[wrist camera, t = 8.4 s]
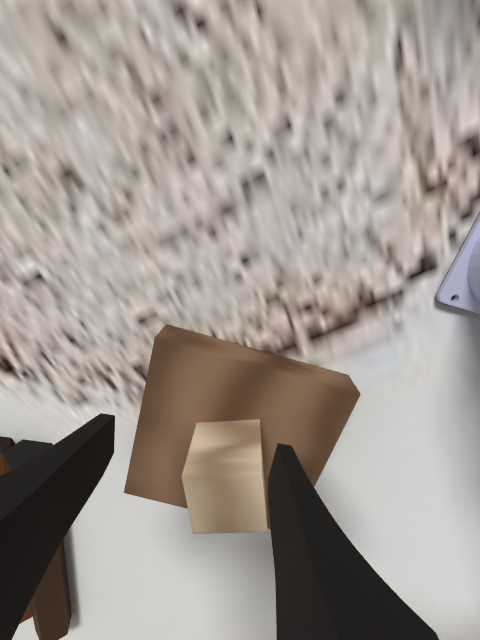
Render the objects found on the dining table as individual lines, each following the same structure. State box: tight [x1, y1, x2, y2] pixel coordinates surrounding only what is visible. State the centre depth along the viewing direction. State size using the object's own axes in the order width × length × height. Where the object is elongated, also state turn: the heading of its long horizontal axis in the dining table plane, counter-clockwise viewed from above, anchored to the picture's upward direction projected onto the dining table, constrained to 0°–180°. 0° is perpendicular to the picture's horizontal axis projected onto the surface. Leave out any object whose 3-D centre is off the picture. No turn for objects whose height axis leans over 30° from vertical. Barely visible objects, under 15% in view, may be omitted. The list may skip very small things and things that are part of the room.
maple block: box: [182, 419, 267, 534], centre depth 18 cm, size 4×4×4 cm
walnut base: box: [124, 324, 360, 529], centre depth 21 cm, size 14×14×2 cm
